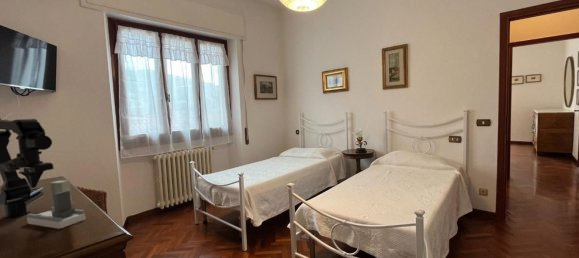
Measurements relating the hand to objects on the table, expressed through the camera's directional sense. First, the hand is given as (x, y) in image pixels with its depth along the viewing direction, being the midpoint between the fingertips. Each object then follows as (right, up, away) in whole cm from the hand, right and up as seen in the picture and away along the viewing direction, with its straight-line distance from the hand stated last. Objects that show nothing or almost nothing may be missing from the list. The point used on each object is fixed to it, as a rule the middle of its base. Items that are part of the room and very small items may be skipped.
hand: (33, 187), depth 113 cm
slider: (+17, -9, -6) cm, 21 cm away
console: (+13, -13, -4) cm, 18 cm away
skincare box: (0, -12, +15) cm, 19 cm away
